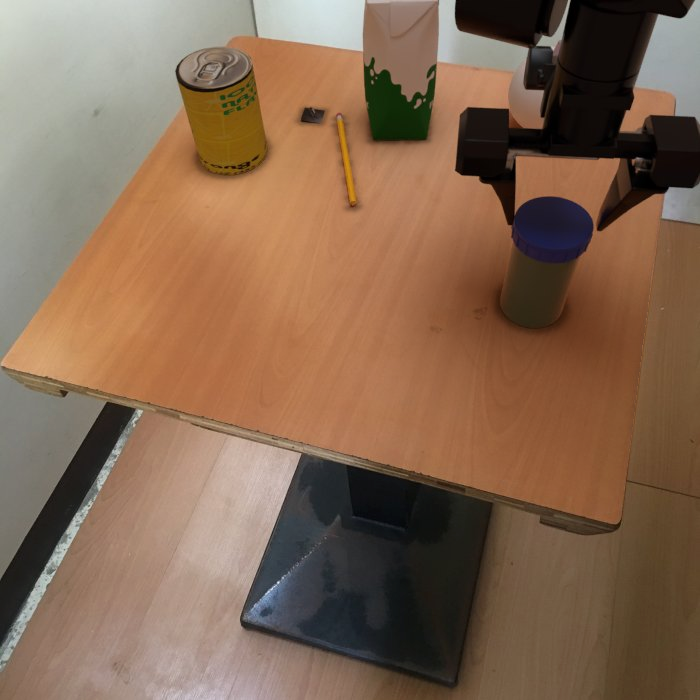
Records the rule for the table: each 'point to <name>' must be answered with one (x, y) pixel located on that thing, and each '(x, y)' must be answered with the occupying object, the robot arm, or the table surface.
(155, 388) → the table surface
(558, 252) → the lid
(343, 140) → the pencil
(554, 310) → the jar
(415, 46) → the soya milk
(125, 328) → the table surface
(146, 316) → the table surface
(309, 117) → the dark square tile
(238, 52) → the beverage can
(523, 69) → the ornament
